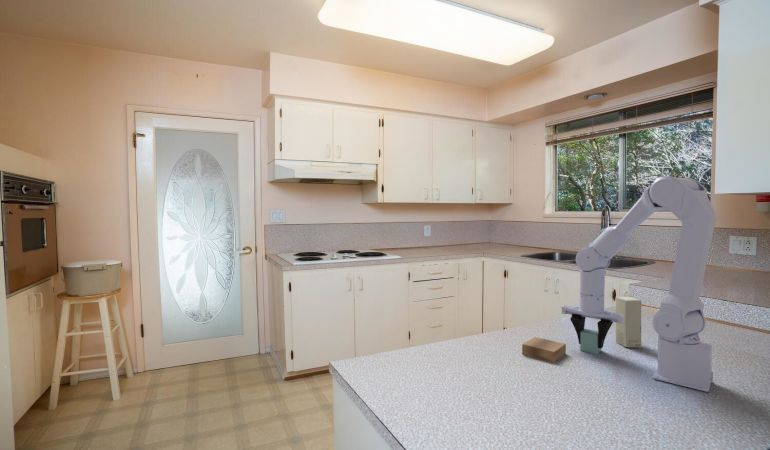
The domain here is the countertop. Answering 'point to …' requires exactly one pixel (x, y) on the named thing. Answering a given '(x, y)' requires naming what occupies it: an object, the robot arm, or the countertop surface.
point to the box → (629, 322)
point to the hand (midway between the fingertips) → (590, 345)
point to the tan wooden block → (544, 349)
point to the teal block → (589, 341)
